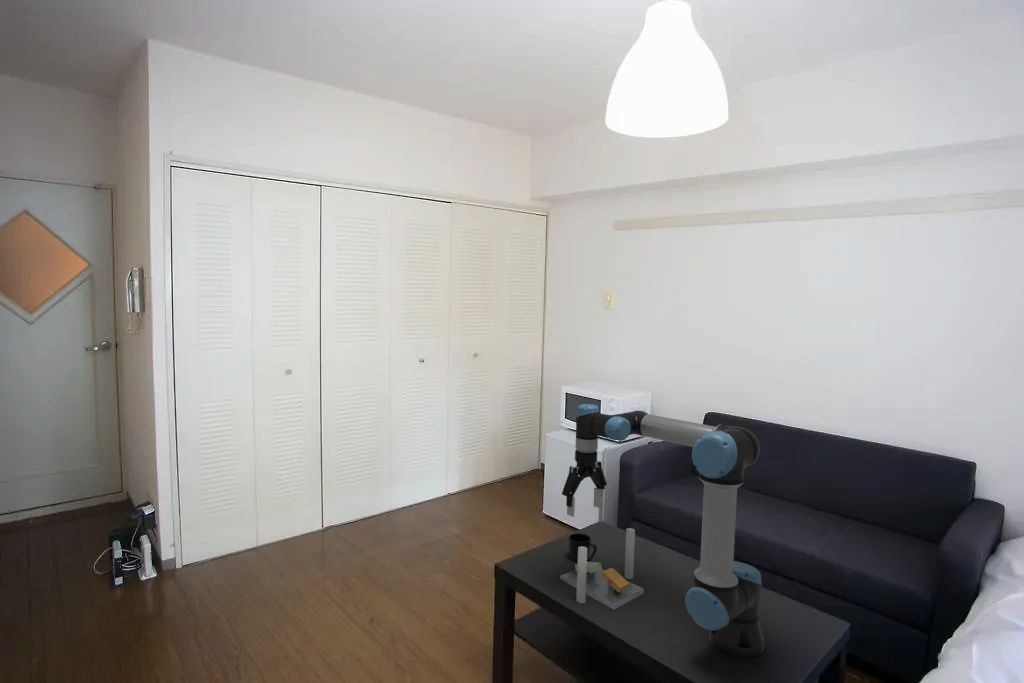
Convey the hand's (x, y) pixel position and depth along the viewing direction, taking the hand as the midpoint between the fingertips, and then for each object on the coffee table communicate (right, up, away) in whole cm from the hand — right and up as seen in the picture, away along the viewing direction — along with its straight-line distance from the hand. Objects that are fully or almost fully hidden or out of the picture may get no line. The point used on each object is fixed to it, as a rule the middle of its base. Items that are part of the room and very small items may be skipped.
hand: (584, 511), depth 194 cm
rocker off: (+10, -22, -3) cm, 25 cm away
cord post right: (+17, -27, +9) cm, 33 cm away
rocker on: (+2, -22, +6) cm, 23 cm away
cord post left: (-2, -27, -8) cm, 29 cm away
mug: (+2, -26, +20) cm, 33 cm away
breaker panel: (+6, -27, +2) cm, 28 cm away
